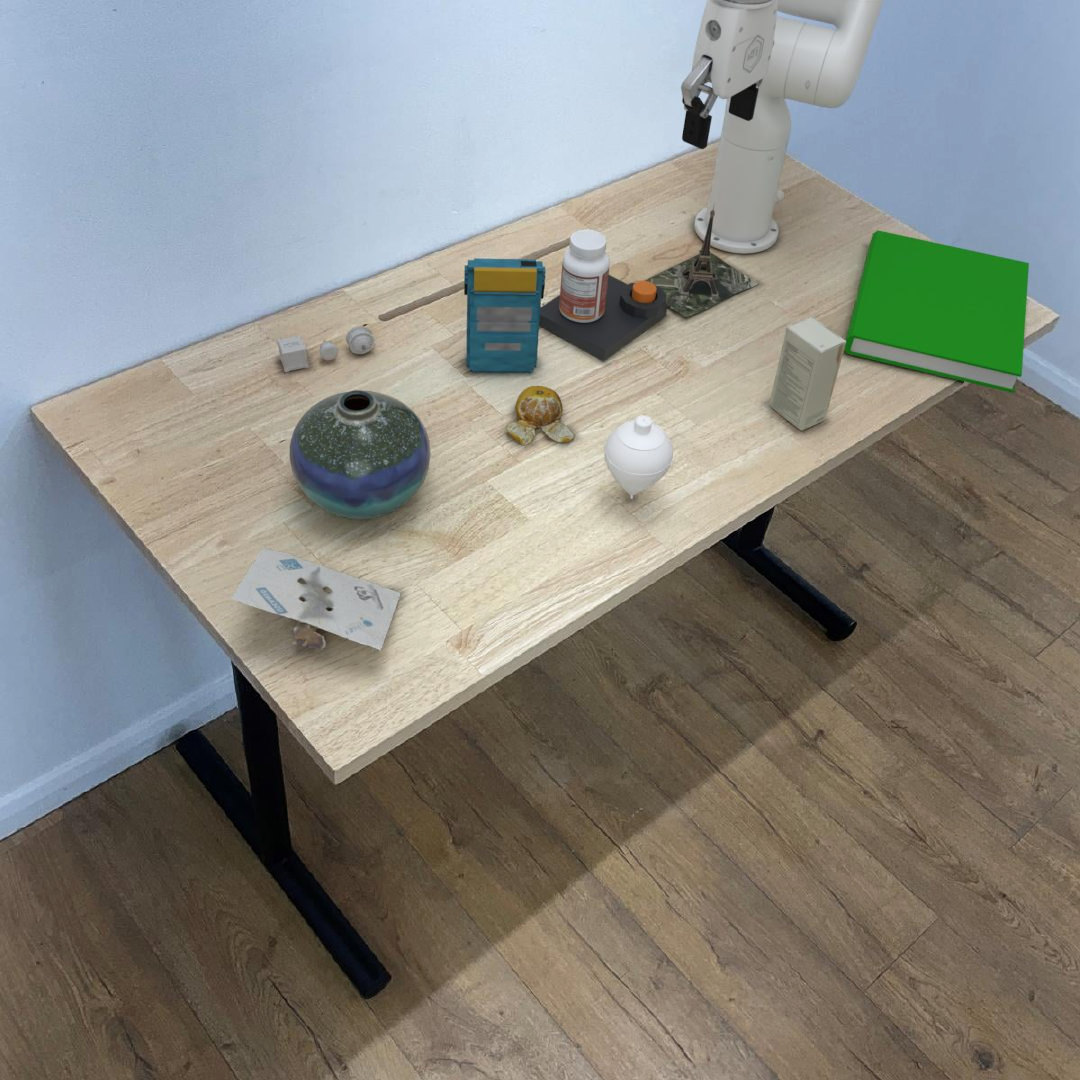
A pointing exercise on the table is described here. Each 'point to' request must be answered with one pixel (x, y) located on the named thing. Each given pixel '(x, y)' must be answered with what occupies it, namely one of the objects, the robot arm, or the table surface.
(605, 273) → the pill bottle
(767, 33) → the robot arm
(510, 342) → the teal case
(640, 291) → the button
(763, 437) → the table surface
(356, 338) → the toy set
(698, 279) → the eiffel tower figurine
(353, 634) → the card
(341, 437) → the vase
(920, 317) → the book
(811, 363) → the cosmetic box
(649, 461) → the spinning top
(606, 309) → the dark grey button base
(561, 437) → the fruit
